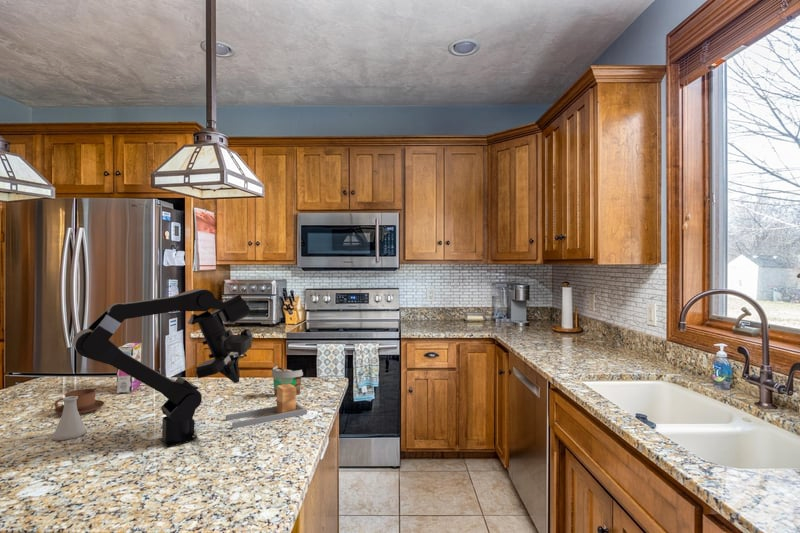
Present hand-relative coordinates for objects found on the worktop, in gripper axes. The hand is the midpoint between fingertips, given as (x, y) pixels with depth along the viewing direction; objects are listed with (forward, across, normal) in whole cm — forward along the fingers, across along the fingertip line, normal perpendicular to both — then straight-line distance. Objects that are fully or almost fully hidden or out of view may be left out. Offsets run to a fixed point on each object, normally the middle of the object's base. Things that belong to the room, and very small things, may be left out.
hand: (237, 382), depth 116 cm
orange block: (+16, +6, -6) cm, 18 cm away
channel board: (+15, +2, -2) cm, 15 cm away
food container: (+20, +24, +5) cm, 31 cm away
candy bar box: (+2, +24, +62) cm, 66 cm away
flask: (-3, -16, +41) cm, 44 cm away
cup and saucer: (-3, 0, +56) cm, 56 cm away
